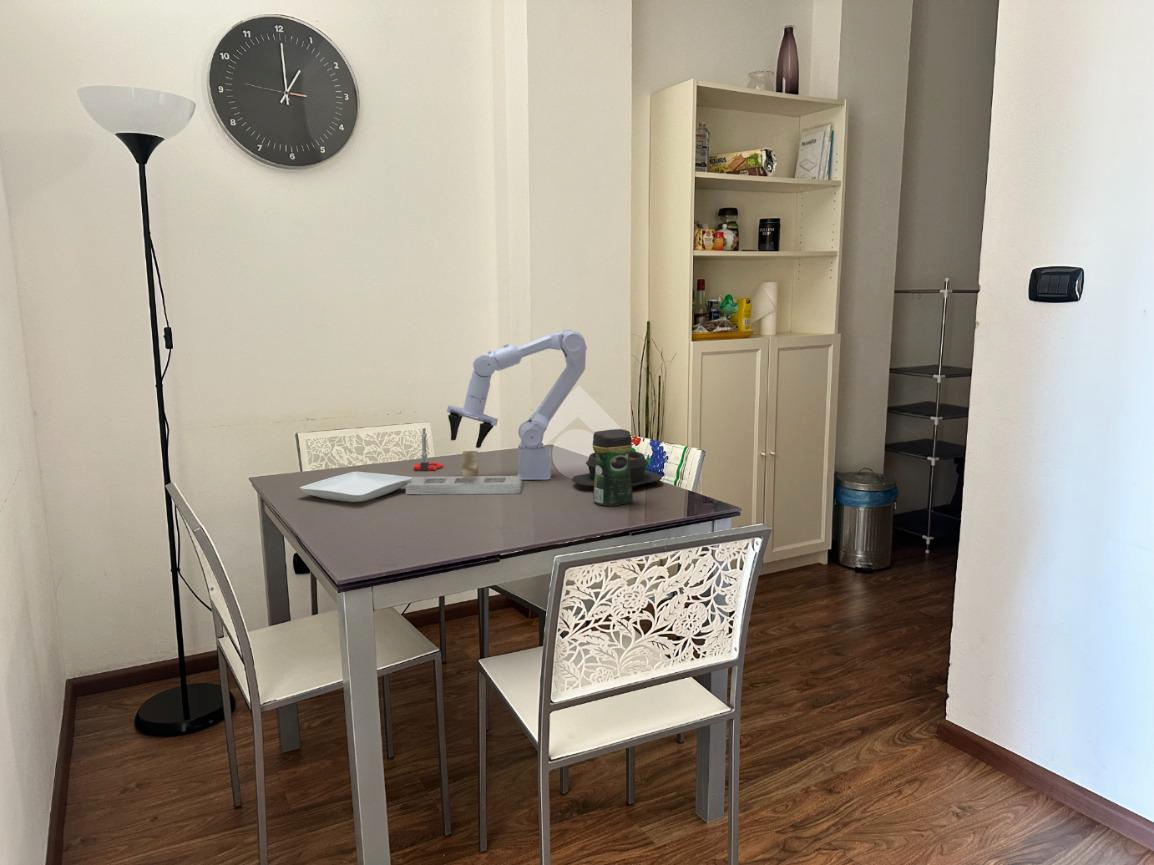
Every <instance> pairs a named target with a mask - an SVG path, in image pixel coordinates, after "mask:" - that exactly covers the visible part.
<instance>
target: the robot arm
mask: <svg viewBox="0 0 1154 865" xmlns="http://www.w3.org/2000/svg"><path fill="white" fill-rule="evenodd" d="M549 349H550V350H556V351H557V350H558V351H562V354H563V355H564V360H565V365H566V366H565V368H564V370H563V371H562V372H561V374H560V375H559V377H558V378H557V379H556V381H555V382H554V384H553V385H552V387H551V388H550V390H549V392H548V393H547V394H546V395H545V397H544V398H543V400H542V402H540V405H539V406H538V407H537V408H536V410H535V412H533V413H532V414H531V416H530V417H529V418H528V419H527V420H525V421H524V422H522V423H521V424H520V425H519V427H518V430H517V432H518V437H519V438H520V442H519V444H518V445H517V451H518V453H517V454H518V456H517V457H518V473H517V475H516V476H522V481H524V480H526V481H528V480H529V481H530V480H531V481H532V480H533V481H534V480H536V481H537V480H539V481H540V480H542V481H544V480H551V478H552V471H553V466H552V462H551V461H552V457H551V456H552V455H551V450H552V448H551V447H550V446H545V445H544V443H543V440H544V435H545V432H546V431H547V429H548V428H549V424H550V422H551V420H552V419H553V417H554V416H555V414H556V413H557V412H558V410H559V409H560V406H562V404H563V403H564V401H565V399H566V398H567V397H568V395H569V394H570V393H571V391H572V390H573V388H574V386H575V385H576V384H577V383H578V381H579V379H580V378H581V376H582V375H583V374H584V372H585V370H586V361H587V360H586V355H587V344H586V341H585V338H584V336H583V335H582V334H581V333H580V332H578V331H576V330H572V329H565V330H564V331H557V332H553V333H549V334H547V335H544V336H542V337H540V338H537V339H534V340H532V341H529V342H527V343H525V344H522V345H520V346H517V345H515V344H513V343H512V344H508V343H505V344H503V347H500V348H498V349H495V350H493V351H491V350H488V351H487V354H479V355H478V356H477V357H476V358H475V359H474V360H473V362H472V366H473V369H474V370H473V371H472V372H471V378H469V383H468V387H467V392H466V395H465V400H464V403H463V404H464V405H463V407H459V406H454V405H447V408H446V413H449V414H448V415H447V418H448V422H449V425H450V428H449V429H450V441H453V442H454V441H456V439H457V437H458V432H459V427H460V424H461V421H462V419H463V417H464V418H467V419H470V420H474V421H477V422H481V423H479V428H478V429H479V431H478V436H477V440H476V443H475V444H476V445H475V448H476V449H480V448H481V447H482V445H483V443H484V440H485V439H486V438H487V437H488V436H487V435H488V434H489V433H490V432H491V430H492V429H493V428H494V427H495V426H497V424H498V421H499V418H496V417H493V416H490V415H488V414H485V413H484V412H485V408H486V405H487V399H488V396H489V391H490V388H491V379H492V375H494V373H495V371H497V372H500V371H502V370H505V369H508V368H510V367H514V366H515V365H516V366H517V365H519V364H520V362H521V361H522V358H525V357H528V356H531V355H533V354H536V353H540V352H543V351H545V350H546V351H547V350H549Z"/></svg>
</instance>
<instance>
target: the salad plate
mask: <svg viewBox="0 0 1154 865" xmlns="http://www.w3.org/2000/svg"><path fill="white" fill-rule="evenodd" d="M412 478H413V476H403V475H396V474H387V473H377V472H364V471H351V472H347V473H344V474H339V475H335V476H332V477H327V478H325V479H322V480H321V479H320V480H318V481H315V482H312V483H308V484H306V485H303V486H300V487H299V489H300V490H301V491H302V492H303V493H305V494H307V495H310V496H314V497H317V498H321V499H323V500H324V499H325V500H331V501H340V502H346V501H347V502H348V503H361V502H363V503H364V502H367V501H370V500H373V499H376V498H379V497H382V496H384V495H388V494H390V493H393V492H395V491H396V490H398V489H400V488H403V487H404V486H405V487H406V484H407V483H408V482H410V481H411V480H412ZM347 502H346V503H347Z"/></svg>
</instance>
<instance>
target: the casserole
mask: <svg viewBox="0 0 1154 865" xmlns="http://www.w3.org/2000/svg"><path fill="white" fill-rule="evenodd" d="M587 459H588V460H587V461H585V464H586V466H588V467H587V468H588V472H589V473H583V474H578V475H574V476H572V478H571V481H572V482H573V483H575V484H577V485H580V486H584V487H594V480H595V466H596V458H595V452H592V453H591V454H590V455H589V457H588V458H587ZM629 462H630V475H631V484H632V487H633V488H636V487H638V486H640V485H644V484H648V483H655V482H658V481H659V482H660V480H662V478H663V477H662V475H661V474H659V473H657V472H654V471H649V470H646V467H647V466H648V465H649V462H648V461H647V460H646V457H645V454H643V453H641V452H638V451H635V450H634V451H633V450H631V451H630V461H629Z"/></svg>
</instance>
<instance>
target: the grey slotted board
mask: <svg viewBox="0 0 1154 865" xmlns="http://www.w3.org/2000/svg"><path fill="white" fill-rule="evenodd" d="M522 488H523V480H522V476H517V475H483V476H482V475H479V476H462V475H460V476H453V475H452V476H412V480H411V481H410V482H408V483H407V484H406V485H405V495H406V494H421V495H500V494H501V495H506V494H507V495H510V494H512V495H513V494H514V495H517V494H521V491H522Z"/></svg>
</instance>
